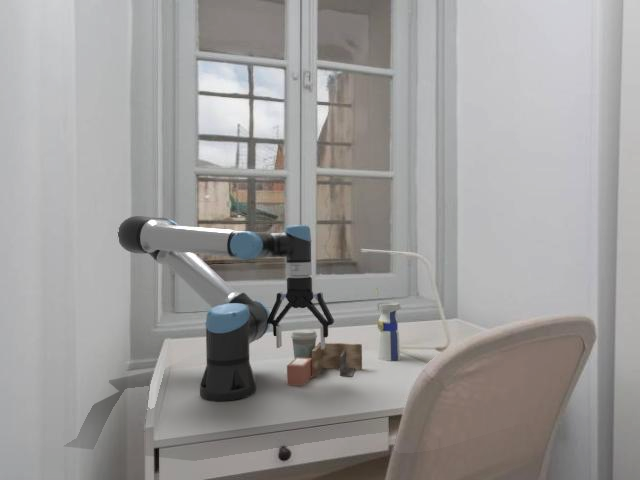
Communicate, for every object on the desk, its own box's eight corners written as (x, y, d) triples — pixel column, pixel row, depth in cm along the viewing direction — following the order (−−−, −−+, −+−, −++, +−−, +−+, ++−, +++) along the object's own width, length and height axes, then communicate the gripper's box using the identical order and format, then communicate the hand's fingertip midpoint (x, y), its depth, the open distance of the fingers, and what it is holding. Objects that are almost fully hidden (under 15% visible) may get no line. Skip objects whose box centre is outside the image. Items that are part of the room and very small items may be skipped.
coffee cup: (286, 367, 134) (285, 330, 134) (306, 362, 140) (305, 327, 140) (302, 373, 128) (302, 334, 128) (322, 367, 134) (322, 330, 134)
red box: (287, 384, 118) (287, 365, 118) (296, 375, 126) (296, 357, 127) (303, 386, 117) (303, 366, 117) (312, 376, 125) (311, 358, 125)
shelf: (312, 377, 124) (311, 350, 124) (319, 366, 135) (319, 342, 135) (357, 379, 121) (357, 352, 121) (362, 368, 132) (361, 344, 132)
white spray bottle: (385, 362, 138) (384, 289, 138) (372, 356, 146) (372, 286, 146) (405, 359, 141) (404, 287, 141) (392, 354, 149) (391, 285, 149)
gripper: (255, 277, 121) (256, 349, 121) (338, 277, 116) (339, 352, 115) (264, 275, 128) (265, 343, 128) (342, 275, 123) (343, 345, 123)
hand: (300, 347), depth 122 cm, fingers open, 13 cm apart
